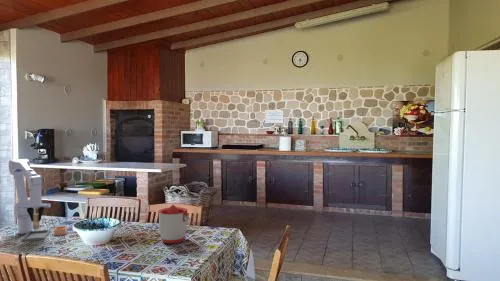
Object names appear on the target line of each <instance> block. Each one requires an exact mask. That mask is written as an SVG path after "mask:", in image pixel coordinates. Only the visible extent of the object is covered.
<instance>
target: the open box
mask: <svg viewBox="0 0 500 281" xmlns="http://www.w3.org/2000/svg"><path fill="white" fill-rule="evenodd" d="M67 233H68V226H67V225H63V226H55V228H54V229H53V236H62V235H63V236H64V235H66V234H67Z"/></svg>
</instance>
